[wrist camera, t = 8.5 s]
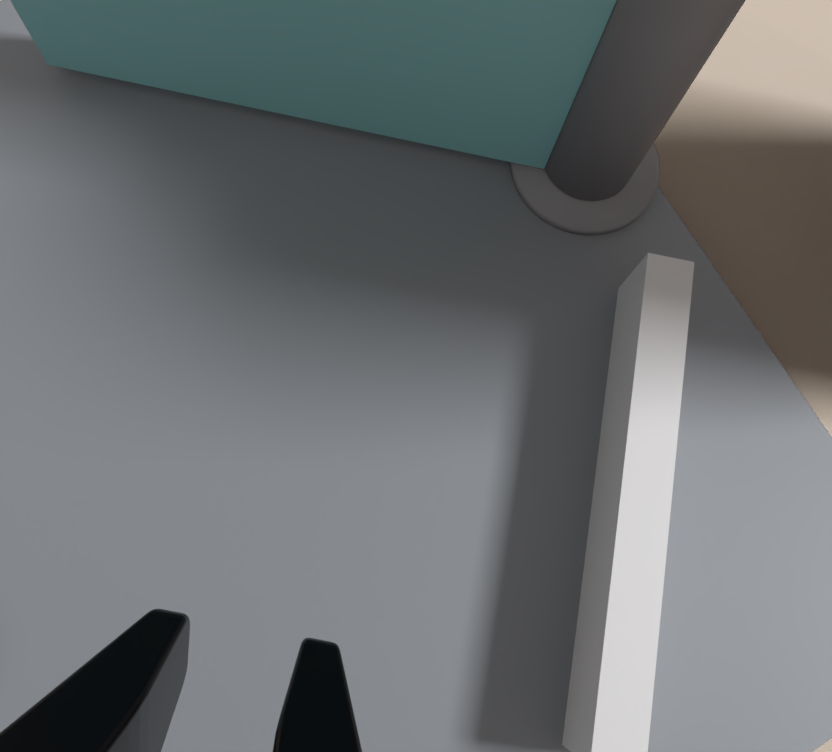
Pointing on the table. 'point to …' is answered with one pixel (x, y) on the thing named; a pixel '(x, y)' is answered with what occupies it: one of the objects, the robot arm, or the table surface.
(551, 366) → the base board
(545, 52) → the door
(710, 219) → the table surface
